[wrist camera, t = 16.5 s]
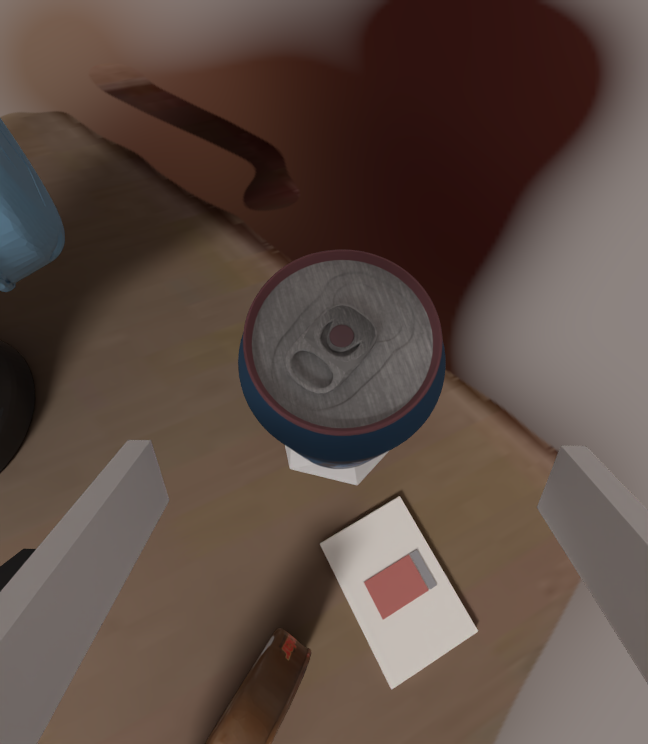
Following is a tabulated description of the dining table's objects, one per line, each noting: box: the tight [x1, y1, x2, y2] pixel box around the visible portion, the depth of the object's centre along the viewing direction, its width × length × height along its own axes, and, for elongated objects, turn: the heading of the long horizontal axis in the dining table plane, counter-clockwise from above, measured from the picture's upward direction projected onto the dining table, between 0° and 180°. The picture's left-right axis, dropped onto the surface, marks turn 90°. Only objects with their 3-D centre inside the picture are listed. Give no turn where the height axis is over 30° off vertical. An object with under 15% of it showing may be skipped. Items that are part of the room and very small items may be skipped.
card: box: [320, 496, 478, 690], centre depth 25 cm, size 10×7×1 cm
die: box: [285, 445, 388, 485], centre depth 25 cm, size 8×9×10 cm
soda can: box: [238, 250, 445, 469], centre depth 16 cm, size 7×7×12 cm
